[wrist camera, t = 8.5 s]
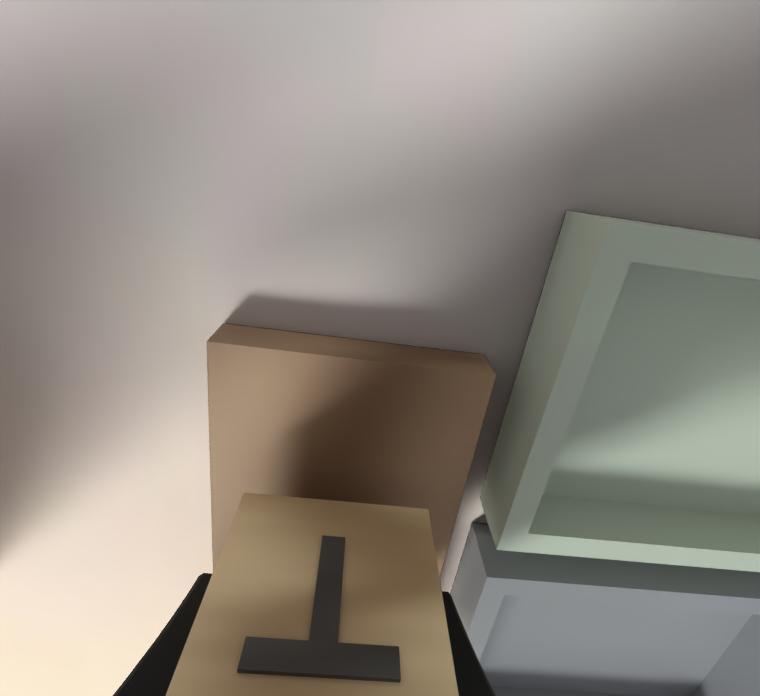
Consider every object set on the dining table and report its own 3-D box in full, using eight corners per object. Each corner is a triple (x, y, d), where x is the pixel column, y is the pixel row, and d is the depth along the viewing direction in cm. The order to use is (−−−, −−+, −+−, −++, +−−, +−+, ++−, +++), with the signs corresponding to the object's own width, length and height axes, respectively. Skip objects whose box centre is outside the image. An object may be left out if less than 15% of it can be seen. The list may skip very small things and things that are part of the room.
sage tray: (1007, 276, 11) (1136, 299, 9) (817, 529, 14) (882, 582, 13) (566, 210, 10) (610, 221, 8) (479, 497, 14) (496, 549, 12)
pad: (484, 354, 12) (496, 375, 10) (415, 617, 16) (418, 651, 15) (222, 323, 11) (206, 341, 10) (226, 604, 15) (214, 638, 14)
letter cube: (429, 506, 10) (466, 731, 6) (400, 626, 12) (415, 861, 8) (243, 489, 10) (156, 715, 6) (242, 615, 12) (174, 855, 8)
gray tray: (800, 552, 15) (861, 606, 13) (691, 697, 18) (726, 756, 17) (471, 522, 14) (487, 577, 12) (423, 681, 18) (429, 741, 16)
